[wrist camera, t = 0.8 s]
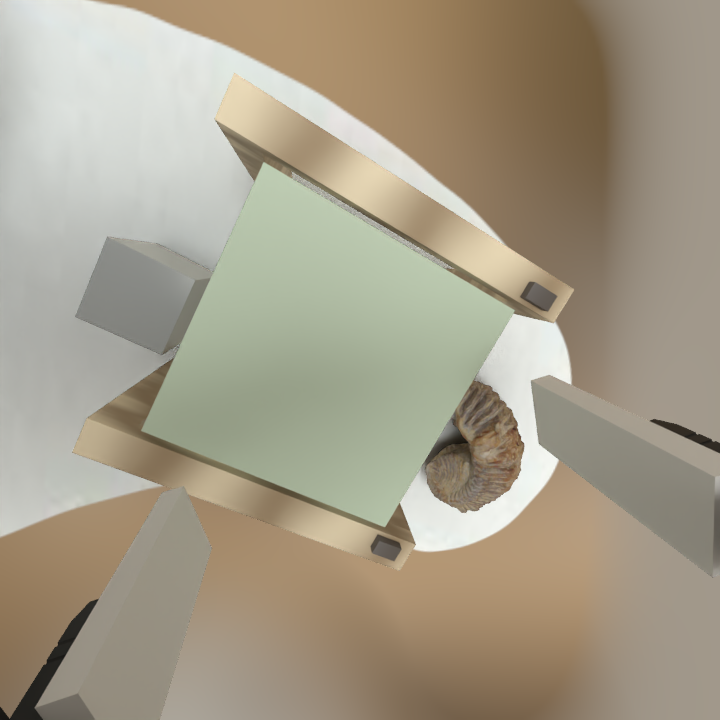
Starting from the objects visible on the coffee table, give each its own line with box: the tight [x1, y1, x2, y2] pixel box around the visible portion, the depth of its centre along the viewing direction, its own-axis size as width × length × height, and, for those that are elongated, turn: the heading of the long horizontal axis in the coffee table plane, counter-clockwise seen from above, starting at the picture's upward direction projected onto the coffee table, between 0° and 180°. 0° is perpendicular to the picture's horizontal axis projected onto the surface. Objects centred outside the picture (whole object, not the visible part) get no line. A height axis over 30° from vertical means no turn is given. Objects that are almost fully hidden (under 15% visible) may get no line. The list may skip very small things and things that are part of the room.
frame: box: [72, 73, 574, 571], centre depth 26 cm, size 19×19×16 cm
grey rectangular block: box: [75, 237, 213, 355], centre depth 28 cm, size 6×6×8 cm
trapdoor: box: [141, 162, 515, 527], centre depth 21 cm, size 14×14×4 cm
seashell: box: [425, 380, 524, 513], centre depth 36 cm, size 14×10×10 cm
